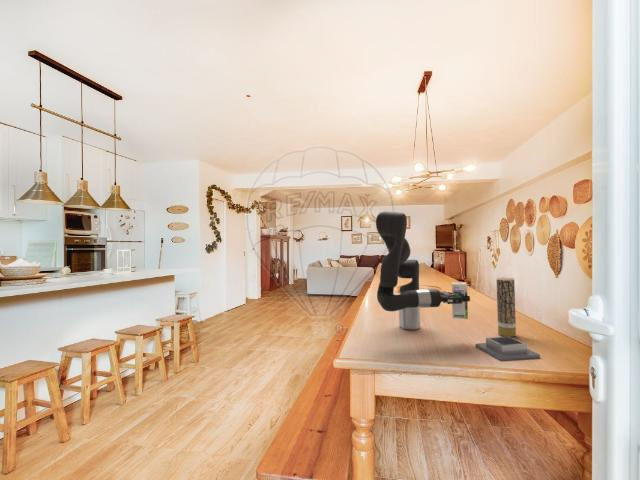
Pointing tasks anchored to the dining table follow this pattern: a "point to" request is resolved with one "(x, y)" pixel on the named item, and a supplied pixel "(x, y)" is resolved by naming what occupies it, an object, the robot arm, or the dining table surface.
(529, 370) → the dining table surface
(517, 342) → the duct collar
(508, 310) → the bark pattern cylinder
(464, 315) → the syrup box
